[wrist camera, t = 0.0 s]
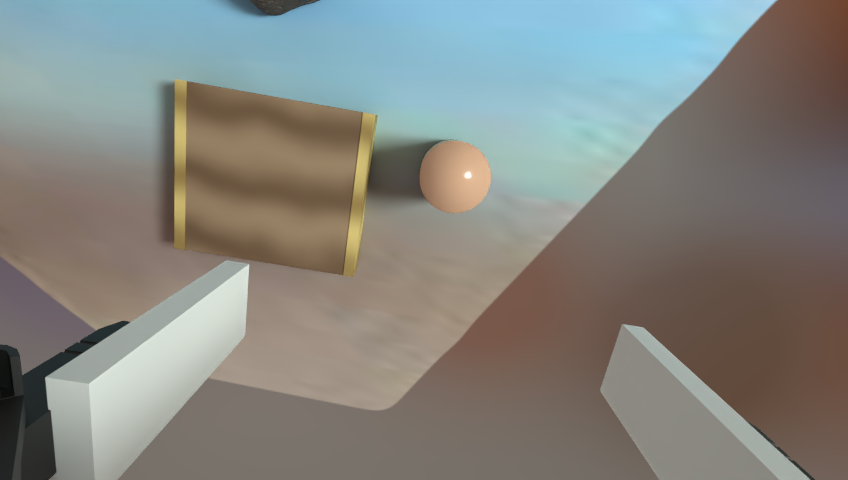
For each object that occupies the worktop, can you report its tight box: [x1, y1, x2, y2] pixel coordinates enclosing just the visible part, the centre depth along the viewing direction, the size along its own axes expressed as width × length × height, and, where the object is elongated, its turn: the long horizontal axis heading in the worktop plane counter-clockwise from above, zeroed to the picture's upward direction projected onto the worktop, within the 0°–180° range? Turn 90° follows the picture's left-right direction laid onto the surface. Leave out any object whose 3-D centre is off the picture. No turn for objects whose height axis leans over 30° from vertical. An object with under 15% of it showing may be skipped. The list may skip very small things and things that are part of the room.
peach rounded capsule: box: [419, 140, 491, 213], centre depth 37 cm, size 6×6×7 cm
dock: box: [174, 79, 377, 277], centre depth 39 cm, size 16×18×3 cm
